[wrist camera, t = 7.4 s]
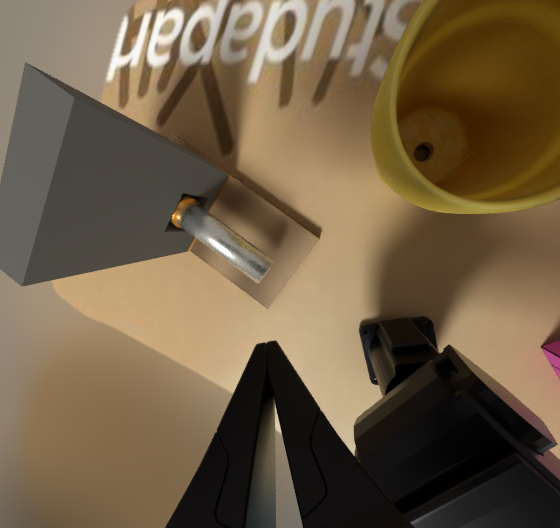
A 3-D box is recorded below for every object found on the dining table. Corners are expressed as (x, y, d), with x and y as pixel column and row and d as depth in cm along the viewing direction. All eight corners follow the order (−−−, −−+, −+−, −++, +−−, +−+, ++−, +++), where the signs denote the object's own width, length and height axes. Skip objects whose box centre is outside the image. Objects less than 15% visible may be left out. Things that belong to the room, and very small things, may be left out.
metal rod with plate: (296, 235, 20) (278, 243, 12) (257, 290, 22) (221, 327, 14) (169, 145, 21) (78, 98, 13) (143, 205, 23) (50, 196, 15)
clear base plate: (319, 238, 20) (319, 239, 19) (270, 305, 23) (267, 309, 22) (177, 136, 21) (169, 132, 20) (144, 211, 24) (135, 210, 23)
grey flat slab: (228, 174, 19) (74, 97, 7) (187, 251, 22) (21, 286, 10) (208, 160, 20) (25, 62, 8) (169, 238, 22) (-15, 257, 10)
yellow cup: (502, 194, 17) (730, 158, 7) (368, 232, 19) (411, 241, 10) (480, 57, 15) (724, -202, 6) (340, 117, 18) (358, 1, 9)
